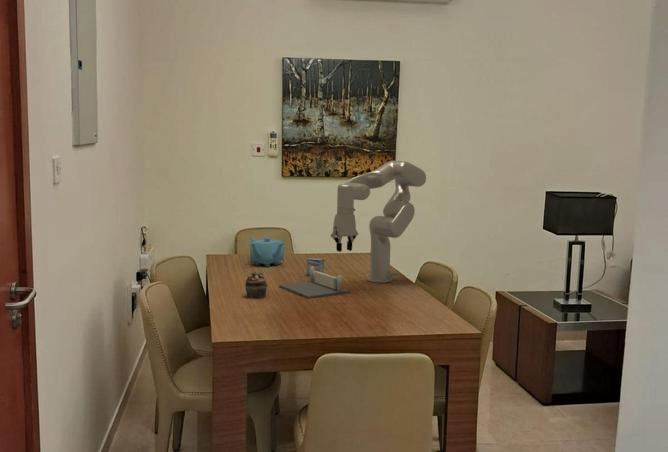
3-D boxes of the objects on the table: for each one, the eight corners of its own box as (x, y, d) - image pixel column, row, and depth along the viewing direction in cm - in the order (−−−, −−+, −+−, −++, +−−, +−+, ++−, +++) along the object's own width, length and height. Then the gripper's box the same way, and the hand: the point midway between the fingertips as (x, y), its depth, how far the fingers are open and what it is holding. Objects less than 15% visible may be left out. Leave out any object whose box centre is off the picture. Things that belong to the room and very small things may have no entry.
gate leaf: (315, 281, 302) (315, 270, 301) (339, 289, 286) (339, 278, 285) (312, 281, 300) (312, 271, 300) (335, 289, 285) (335, 278, 284)
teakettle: (282, 261, 357) (282, 235, 356) (285, 267, 339) (285, 240, 337) (248, 261, 354) (248, 235, 352) (249, 268, 336) (249, 240, 334)
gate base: (319, 282, 306) (319, 265, 305) (349, 292, 286) (350, 275, 285) (279, 287, 294) (279, 269, 293) (308, 298, 274) (308, 280, 273)
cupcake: (241, 297, 273) (241, 274, 272) (251, 292, 283) (251, 270, 281) (261, 299, 270) (261, 276, 269) (271, 294, 279) (271, 272, 278)
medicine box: (306, 275, 320) (306, 258, 319) (309, 274, 324) (310, 257, 323) (320, 277, 317) (320, 260, 316) (324, 275, 321) (324, 258, 320)
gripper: (355, 209, 299) (354, 248, 302) (325, 211, 290) (324, 251, 292) (365, 211, 293) (364, 250, 296) (334, 213, 284) (333, 253, 286)
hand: (344, 250), depth 294 cm, fingers open, 5 cm apart
